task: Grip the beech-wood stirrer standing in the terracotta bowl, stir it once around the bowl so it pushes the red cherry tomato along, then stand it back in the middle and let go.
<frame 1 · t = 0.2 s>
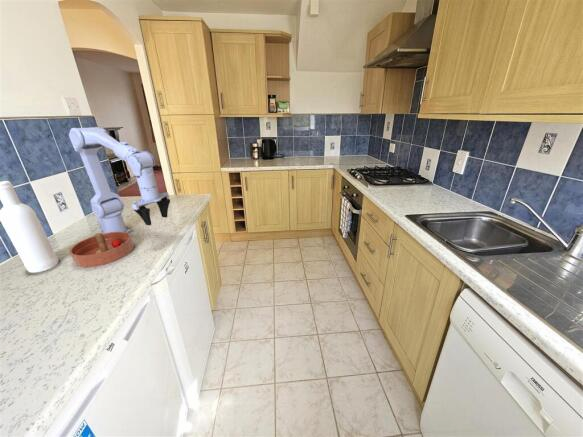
hand: (157, 220, 93), 10 cm above the countertop, tool pointing down, fingers open, 7 cm apart
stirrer: (105, 253, 90), point 1 cm above the countertop, touching bowl
tomato: (116, 243, 94), point 2 cm above the countertop, touching bowl
bottle: (44, 267, 84), on the countertop
bowl: (106, 254, 90), on the countertop
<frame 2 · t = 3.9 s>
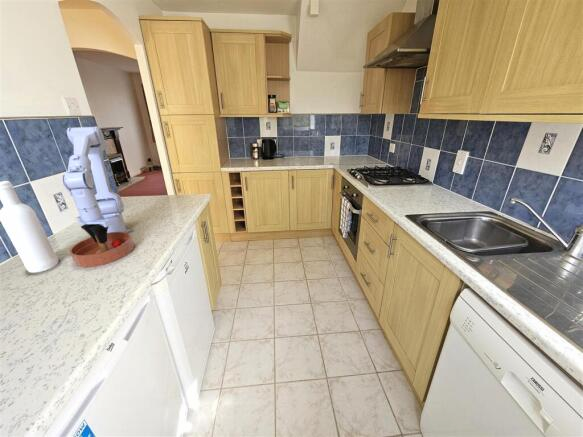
hand: (101, 241, 88), 5 cm above the countertop, tool pointing down, fingers closed on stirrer, 2 cm apart
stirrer: (105, 253, 90), point 1 cm above the countertop, touching bowl, gripper
everything else where it was.
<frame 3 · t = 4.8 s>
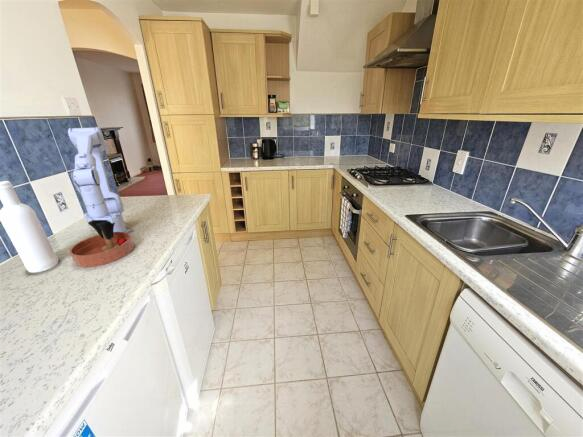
hand: (107, 237, 90), 6 cm above the countertop, tool pointing down, fingers closed on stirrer, 2 cm apart
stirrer: (111, 249, 92), point 1 cm above the countertop, touching gripper, tomato
tomato: (121, 241, 95), point 2 cm above the countertop, tilted 74°, touching bowl, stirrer
everything else where it was.
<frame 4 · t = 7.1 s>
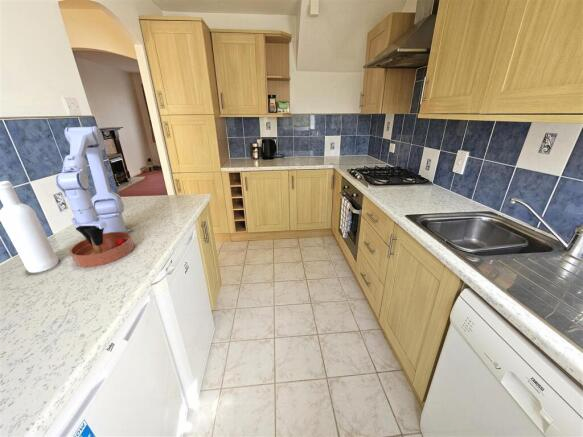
hand: (96, 243, 86), 6 cm above the countertop, tool pointing down, fingers closed on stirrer, 2 cm apart
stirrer: (99, 256, 87), point 1 cm above the countertop, tilted 5°, touching gripper
tomato: (119, 242, 95), point 2 cm above the countertop, tilted 53°, touching bowl
everything else where it was.
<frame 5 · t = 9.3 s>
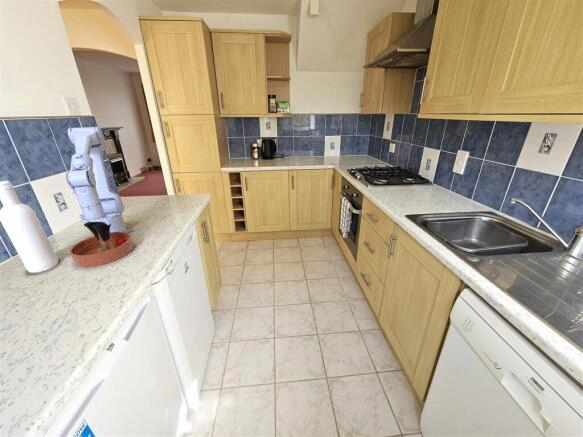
hand: (103, 239, 89), 6 cm above the countertop, tool pointing down, fingers closed on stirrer, 2 cm apart
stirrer: (106, 251, 90), point 1 cm above the countertop, tilted 6°, touching gripper
tomato: (120, 241, 95), point 2 cm above the countertop, tilted 73°, touching bowl
everything else where it was.
when the fingers open (5 cm above the countertop, at t = 10.7 s): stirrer stays where it is, resting on bowl.
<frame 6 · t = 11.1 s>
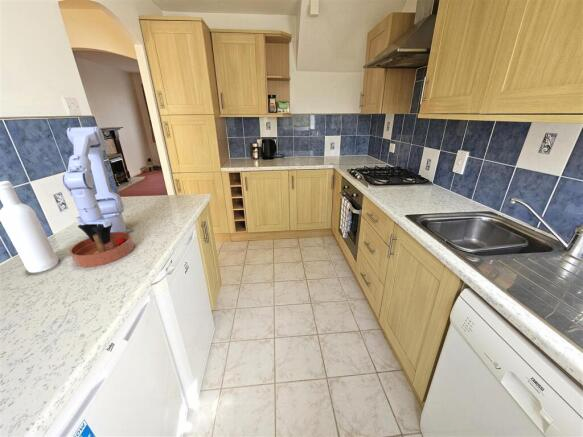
hand: (101, 241, 88), 5 cm above the countertop, tool pointing down, fingers open, 5 cm apart
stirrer: (103, 254, 90), point 1 cm above the countertop, touching bowl
everything else where it was.
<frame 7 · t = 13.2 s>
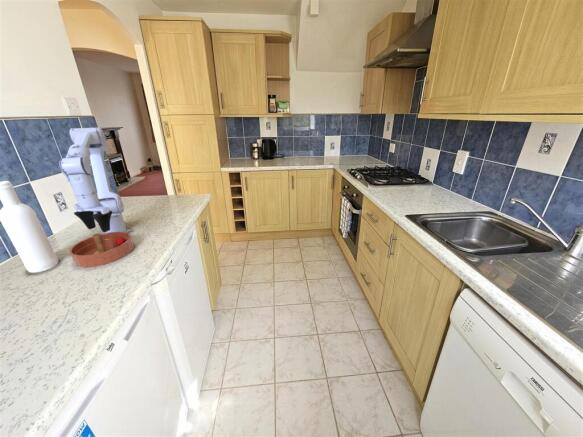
hand: (99, 229, 87), 10 cm above the countertop, tool pointing down, fingers open, 7 cm apart
nothing on the countertop moved.
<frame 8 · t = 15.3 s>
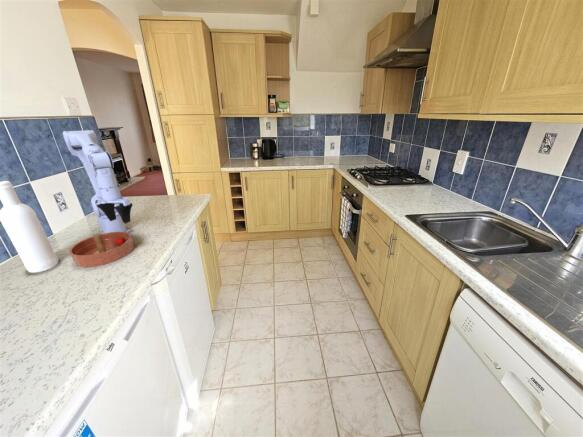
hand: (120, 221, 93), 10 cm above the countertop, tool pointing down, fingers open, 7 cm apart
nothing on the countertop moved.
at the end: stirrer inside the target area in the bowl (0.7 cm from its centre), point 0.6 cm above the bowl's base; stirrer tilted 0°; tomato moved 1.9 cm from its start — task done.
